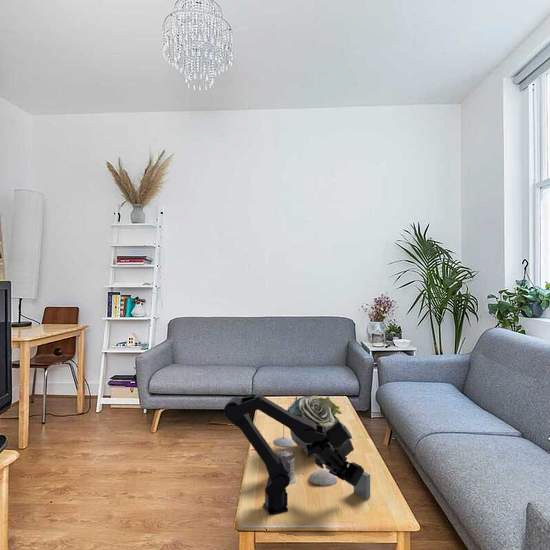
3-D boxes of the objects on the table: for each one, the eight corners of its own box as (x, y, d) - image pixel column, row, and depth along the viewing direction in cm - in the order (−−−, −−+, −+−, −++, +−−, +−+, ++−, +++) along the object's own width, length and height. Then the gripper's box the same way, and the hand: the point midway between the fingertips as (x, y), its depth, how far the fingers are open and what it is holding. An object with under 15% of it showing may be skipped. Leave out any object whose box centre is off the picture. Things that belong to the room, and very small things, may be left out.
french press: (295, 473, 162) (296, 407, 162) (297, 487, 150) (297, 417, 150) (270, 473, 162) (270, 407, 162) (270, 487, 150) (270, 417, 150)
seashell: (302, 473, 155) (317, 459, 163) (304, 486, 156) (319, 472, 163) (325, 481, 149) (340, 466, 156) (327, 495, 149) (342, 479, 157)
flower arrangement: (309, 468, 166) (309, 406, 166) (274, 447, 186) (274, 392, 187) (355, 454, 179) (355, 397, 180) (318, 436, 200) (318, 385, 201)
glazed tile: (366, 499, 142) (366, 475, 142) (353, 492, 147) (353, 469, 147) (370, 498, 143) (370, 474, 143) (358, 490, 148) (358, 467, 148)
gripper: (359, 441, 132) (384, 468, 138) (321, 424, 147) (344, 449, 153) (341, 472, 127) (367, 499, 133) (303, 452, 143) (328, 476, 149)
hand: (351, 479), depth 142 cm, fingers closed
